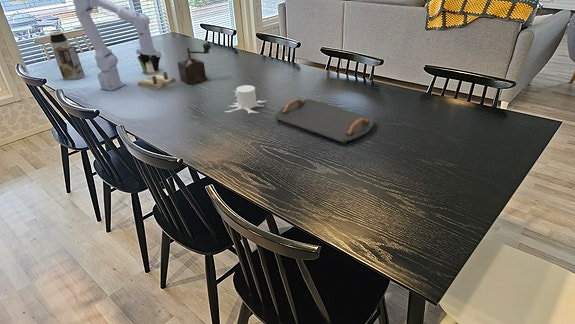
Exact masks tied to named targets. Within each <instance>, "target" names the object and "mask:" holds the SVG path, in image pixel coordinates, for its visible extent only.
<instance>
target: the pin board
mask: <svg viewBox="0 0 575 324" xmlns="http://www.w3.org/2000/svg"><path fill="white" fill-rule="evenodd" d="M162 74H163V75H161V74H153V75H151V76H150V77H147V78H145V79H143V80H140V81H138V82H137V86H139V87H144V88H149V89H154V90H158V89H160V88H163V87H165V86H167V85H169V84H172V83H174V82H176V79H175V77H172V76H169V75H168V73H167V71H163V72H162Z"/></svg>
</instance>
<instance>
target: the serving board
mask: <svg viewBox="0 0 575 324" xmlns="http://www.w3.org/2000/svg"><path fill="white" fill-rule="evenodd" d="M274 119H276V121H277V122H278V123H281V122H284V123H286V124H289V125H292V126H295V127H298V128H300V129H304V130H306V131H310V132H312V133H315V134H319V135H321V136H324V137H327V138H329V139H332V140H335V141H338V142H340V144H341V145H343V146H346V145H347V144H348V141H353V140H355V139H358V138H360V137H362V136H363V135H366V134H367V133H369V131H371V129H372V128H373V127H374V124H375V118H374V117H372V116H367V115H365V114H361V113H359V112H355V111H351V110H348V109H345V108H342V107H337V106H334V105H330V104H328V103H324V102H321V101H317V100H313V99H304V100H302V99H300V98H294V99H292V100H291V101H288V103H286V104H285V106H284V107H282V108H281V109H280V110H279V111H277V112H276V114H275V116H274Z"/></svg>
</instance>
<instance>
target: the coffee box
mask: <svg viewBox="0 0 575 324" xmlns="http://www.w3.org/2000/svg"><path fill="white" fill-rule="evenodd" d="M52 52H53V55H54V58H55V60H56V63H57V66H58V68H59V70H60V71H59V72H60V74H61V76H62V79H63V81H64V80H80V79H82V78H83V77H85V76H86V75H85V72H84V69H83V66H82V63H81V61H80V57H79V54H78V52H77V48H76V46H71V45H68V46H66V47H58V48H56V49H54V48H53V49H52Z"/></svg>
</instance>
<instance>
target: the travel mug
mask: <svg viewBox="0 0 575 324" xmlns="http://www.w3.org/2000/svg"><path fill="white" fill-rule="evenodd" d="M48 35H49V36H50V42H51V45H52V48H53V50H54V49H56V48H58V47H66V46H69V43H68V41H67V37H66V36H65V34H64V31H62V30H58V31H57V30H56V31H51V32H49V33H48Z"/></svg>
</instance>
